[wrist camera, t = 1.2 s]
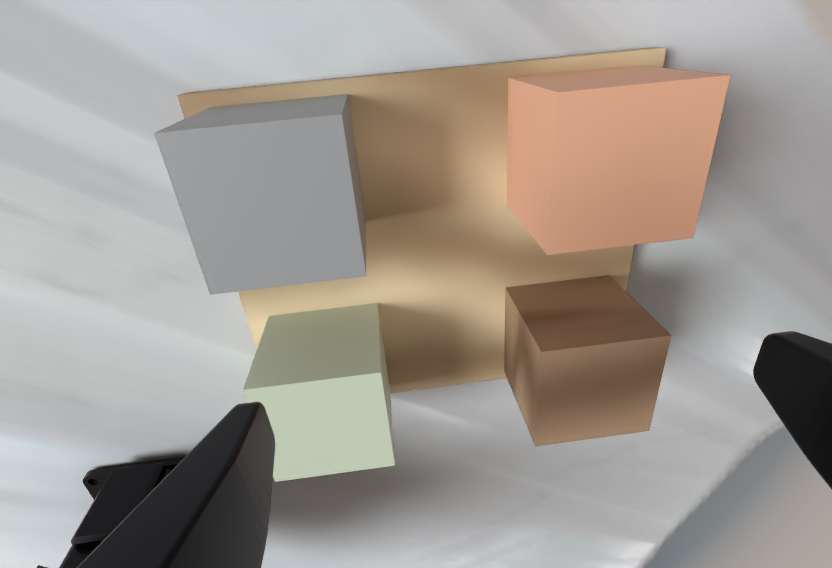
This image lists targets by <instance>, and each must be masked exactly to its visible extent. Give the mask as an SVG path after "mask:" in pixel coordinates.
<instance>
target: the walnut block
mask: <svg viewBox="0 0 832 568" xmlns="http://www.w3.org/2000/svg"><path fill="white" fill-rule="evenodd" d="M670 338H671V335H670V334H669V333H668V332H667V331H666V330H665V329H664V328H663V327H662V326H661V325H660V324H659V323H658V322H657V321H656V320H655V319H654V318H653V317H652V316H651V315H650V314H649V313H648V312H646V311H645V310H644V309H643V308H642V307H641V306H640V305H639V304H638V303H637V302H636V301H635V300H634V299H633V298H632V297H631V296H630V295H629V294H628V293H627V292H626V291H625V290H624V289H623V288H622V287H621V286H620V285H619V284H618V283H617V282H616V281H615V280H614V279H613V278H612V277H611V276H610V275H605V276H597V277H589V278H580V279H572V280H564V281H555V282H547V283H539V284H530V285H522V286H514V287H505V345H504V372H505V374H506V377H507V379H508V382H509V384H510V386H511V389H512V391H513V394H514V396H515V398H516V401H517V403H518V406H519V408H520V410H521V413H522V415H523V418H524V420H525V423H526V425H527V427H528V430H529V432H530V435H531V437H532V439H533V442H534V444H535V446H541V445H548V444H556V443H563V442H570V441H577V440H585V439H592V438H599V437H607V436H614V435H621V434H629V433H636V432H643V431H649V430H650V425H651V421H652V417H653V412H654V408H655V403H656V399H657V395H658V390H659V386H660V382H661V377H662V373H663V368H664V364H665V360H666V355H667V351H668V347H669V342H670Z"/></svg>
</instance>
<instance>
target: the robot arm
mask: <svg viewBox="0 0 832 568" xmlns="http://www.w3.org/2000/svg"><path fill="white" fill-rule="evenodd" d="M753 374H754V379H755V381H756V383H757V385H758V386H759V388H760V389H761V391H762V392H763V394H764V395H765V397H766V398H767V400H768V401H769V403H770V404H771V406H772V407H773V409H774V410H775V412H776V413H777V415H778V416H779V418H780V419H781V421H782V422H783V424H784V425H785V427H786V428H787V430H788V431H789V433H790V434H791V436H792V437H793V439H794V440H795V442H796V443H797V444H798V446H799V447H800V449H801V450H802V452H803V453H804V455H805V456H806V457H807V459H808V460H809V461H810V463H811V464H812V465H813V467H814V468H815V469H816V470H817V472H818V473H819V474H820V476H822V478H823V479H824V480H825V482H826V483H827V484H828V485H829V487H830V488H831V489H832V344H831V343H828V342H825V341H822V340H819V339H816V338H813V337H810V336H807V335H804V334H801V333H798V332H793V331H788V332H780V333H773V334H770V335H768V336H767V337H766V338H765V339H764V340H763V343H762V346H761V349H760V351H759V354H758V357H757V360H756V363H755V366H754V369H753ZM274 457H275V436H274V433H273V430H272V427H271V424H270V421H269V418H268V415H267V413H266V410H265V407H264V405H263V404H262V403H261V402H250V403H243V404H238V405H236V406H235V407H234V408H233V409H232V410H231V411H230V412H229V413H228V414H227V415H226V416H225V417H224V418H223V419H222V420H221V421H220V422H219V423H218V424H217V425H216V426H215V427H214V428H213V429H212V430H211V431H210V432H209V433H208V434H207V435H206V436H205V437H204V438H203V439H202V440H201V441H200V442H199V443H198V444H197V445H196V446H195V448H194V449H193V450H192V451H191V452H190V453H189V454H188V455H187V456H186V457H185V458H178V459H170V460H163V461H155V462H148V463H140V464H133V465H125V466H118V467H110V468H103V469H95V470H90V471H89V472H87V474H86V475H85V477H84V479H83V483H84V485H85V486H86V488H87V489H88V491H89V493H90V494H91V496H92V497H93V499H94V502H93V503H92V505H91V507H90V508H89V510H88V512H87V514H86V515H85V517H84V519H83V520H82V522H81V524H80V526H79V527H78V529H77V531H76V532H75V534H74V536H73V538H72V540H71V543H72V546H71V548H70V550H69V552H68V553H67V555H66V557H65V558H64V560H63V562H62V564H61V565H60V567H59V568H261V565H262V560H263V555H264V550H265V545H266V539H267V533H268V523H269V513H270V502H271V491H272V479H273V468H274ZM37 568H47V567H43V566H40V565H38V566H37Z"/></svg>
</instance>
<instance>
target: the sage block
mask: <svg viewBox="0 0 832 568" xmlns="http://www.w3.org/2000/svg"><path fill="white" fill-rule="evenodd" d="M243 391H244V394H245V397H246V400H247V403H250V402H261V403H262V404H263V405H264V407H265V410H266V413H267V415H268V418H269V421H270V424H271V427H272V430H273V433H274V436H275V457H274V468H273V478H274V481H275V482H278V481H285V480H293V479H300V478H307V477H314V476H322V475H329V474H336V473H344V472H351V471H358V470H366V469H373V468H380V467H388V466H395V458H394V444H393V429H392V415H391V400H390V386H389V379H388V372H387V365H386V358H385V351H384V344H383V337H382V330H381V323H380V316H379V309H378V303H372V304H364V305H356V306H347V307H339V308H331V309H322V310H314V311H306V312H297V313H289V314H281V315H272V316H269V317H268V319H267V322H266V325H265V328H264V331H263V334H262V337H261V340H260V343H259V346H258V348H257V351H256V354H255V357H254V360H253V363H252V366H251V369H250V372H249V375H248V377H247V380H246V383H245V386H244V389H243Z"/></svg>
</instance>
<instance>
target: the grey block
mask: <svg viewBox="0 0 832 568" xmlns="http://www.w3.org/2000/svg"><path fill="white" fill-rule="evenodd" d="M154 134H155V137H156V139H157V142H158V145H159V148H160V151H161V154H162V157H163V160H164V163H165V165H166V168H167V171H168V174H169V177H170V180H171V183H172V186H173V189H174V191H175V194H176V197H177V200H178V203H179V206H180V209H181V212H182V215H183V217H184V220H185V223H186V226H187V229H188V232H189V235H190V238H191V241H192V244H193V246H194V249H195V252H196V255H197V258H198V261H199V264H200V267H201V270H202V272H203V275H204V278H205V281H206V284H207V287H208V290H209V293H210V295H211V294H220V293H228V292H237V291H245V290H254V289H263V288H271V287H280V286H288V285H297V284H305V283H314V282H322V281H331V280H339V279H348V278H356V277H365V276H366V217H365V210H364V203H363V196H362V189H361V182H360V175H359V168H358V161H357V154H356V147H355V140H354V133H353V126H352V119H351V112H350V105H349V98H348V94H342V95H331V96H321V97H311V98H301V99H291V100H281V101H271V102H261V103H251V104H240V105H230V106H220V107H210V108H208V109H206V110H203V111H201V112H199V113H197V114H195V115H193V116H190V117H188V118H186V119H184V120H182V121H180V122H177V123H175V124H173V125H171V126H169V127H166V128H164V129H162V130H160V131H158V132H156V133H154Z"/></svg>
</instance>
